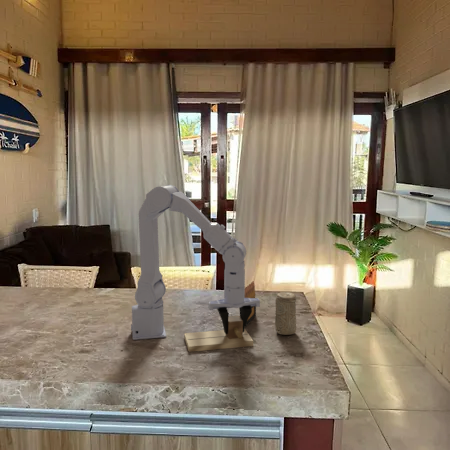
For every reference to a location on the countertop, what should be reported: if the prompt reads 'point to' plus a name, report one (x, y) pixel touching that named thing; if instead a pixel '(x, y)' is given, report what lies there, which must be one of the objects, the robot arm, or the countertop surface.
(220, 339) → the board
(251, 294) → the ammunition clip
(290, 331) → the carving
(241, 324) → the mallet
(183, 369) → the countertop surface
